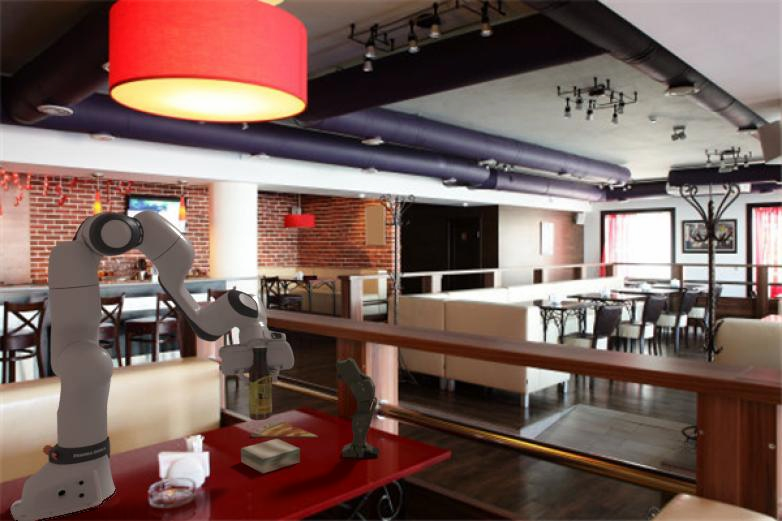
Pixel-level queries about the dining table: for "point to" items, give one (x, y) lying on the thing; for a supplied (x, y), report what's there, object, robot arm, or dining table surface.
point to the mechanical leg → (359, 408)
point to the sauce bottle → (260, 385)
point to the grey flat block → (270, 455)
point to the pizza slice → (280, 430)
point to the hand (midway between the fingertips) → (260, 383)
